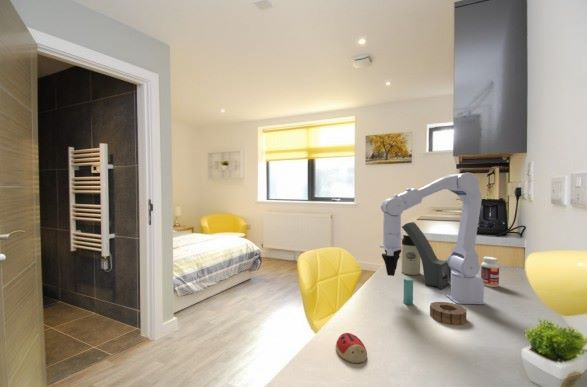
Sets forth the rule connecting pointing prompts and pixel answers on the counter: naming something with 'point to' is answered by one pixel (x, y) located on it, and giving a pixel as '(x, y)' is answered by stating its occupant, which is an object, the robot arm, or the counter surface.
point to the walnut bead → (448, 313)
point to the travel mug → (410, 256)
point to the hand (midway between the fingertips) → (391, 272)
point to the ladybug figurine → (351, 348)
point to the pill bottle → (490, 272)
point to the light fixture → (429, 259)
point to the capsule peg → (408, 291)
